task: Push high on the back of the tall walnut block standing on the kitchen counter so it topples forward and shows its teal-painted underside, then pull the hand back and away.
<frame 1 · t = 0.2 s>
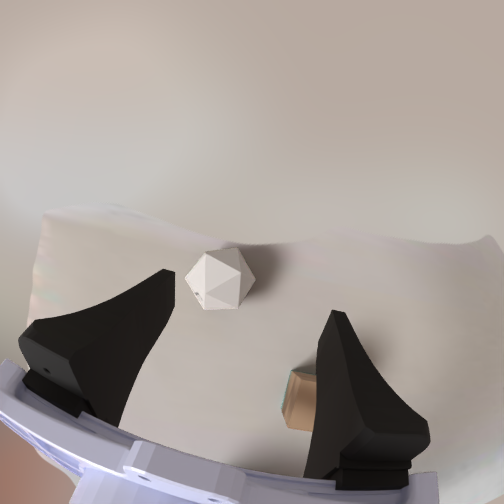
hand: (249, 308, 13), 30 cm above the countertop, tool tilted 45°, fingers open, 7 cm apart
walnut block: (302, 392, 40), on the countertop
die: (223, 284, 45), on the countertop
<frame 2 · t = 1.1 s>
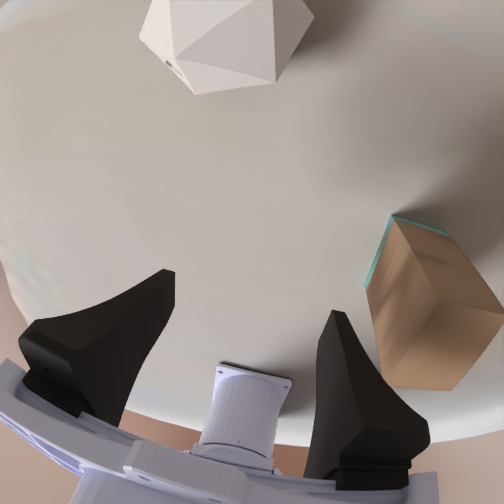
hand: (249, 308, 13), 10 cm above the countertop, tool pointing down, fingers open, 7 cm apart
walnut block: (405, 258, 21), on the countertop
die: (241, 35, 16), on the countertop
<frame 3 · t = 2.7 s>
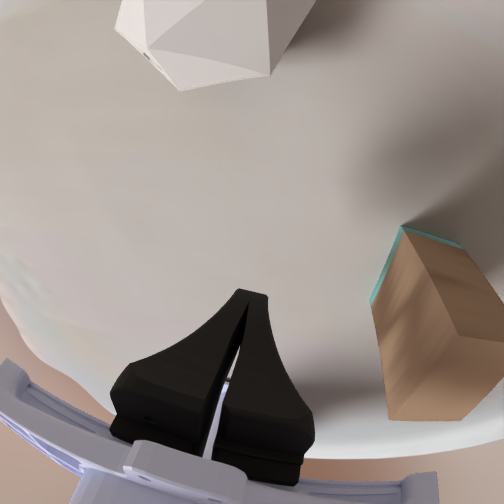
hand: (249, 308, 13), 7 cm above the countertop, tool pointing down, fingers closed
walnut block: (415, 272, 19), on the countertop
die: (232, 23, 14), on the countertop
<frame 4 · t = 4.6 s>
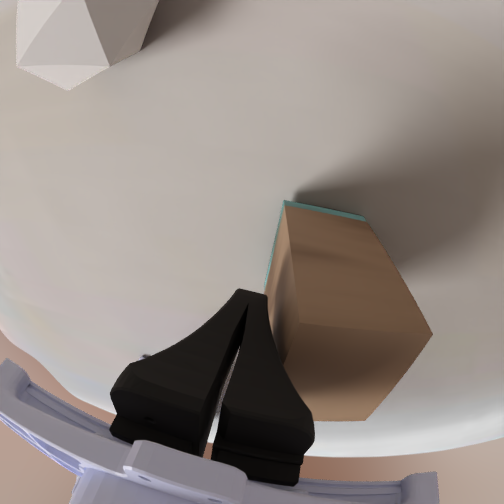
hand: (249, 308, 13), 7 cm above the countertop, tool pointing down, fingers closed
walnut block: (312, 251, 19), on the countertop, tilted 8°, touching gripper
die: (120, 25, 14), on the countertop
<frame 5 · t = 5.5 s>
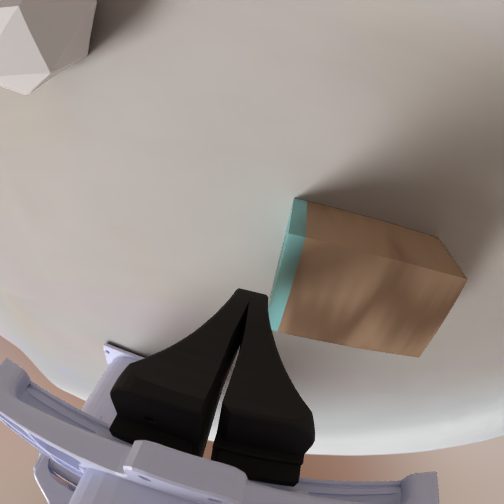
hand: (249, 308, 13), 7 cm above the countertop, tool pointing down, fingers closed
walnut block: (279, 261, 17), point 2 cm above the countertop, tilted 90°
die: (73, 33, 14), on the countertop
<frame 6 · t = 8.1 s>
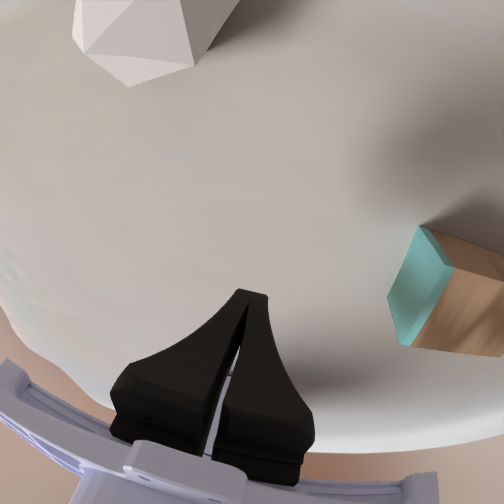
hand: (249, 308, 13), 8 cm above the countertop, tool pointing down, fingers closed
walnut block: (411, 283, 17), point 2 cm above the countertop, tilted 90°
die: (181, 22, 14), on the countertop
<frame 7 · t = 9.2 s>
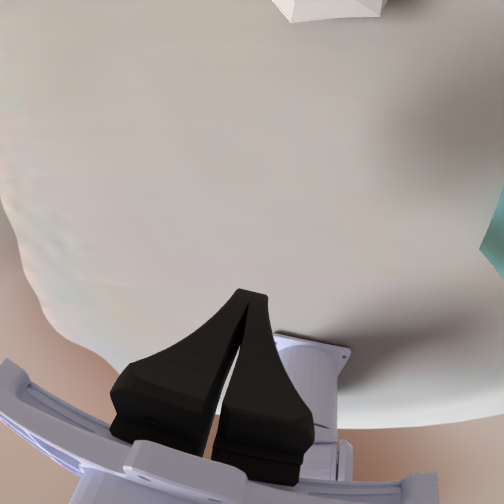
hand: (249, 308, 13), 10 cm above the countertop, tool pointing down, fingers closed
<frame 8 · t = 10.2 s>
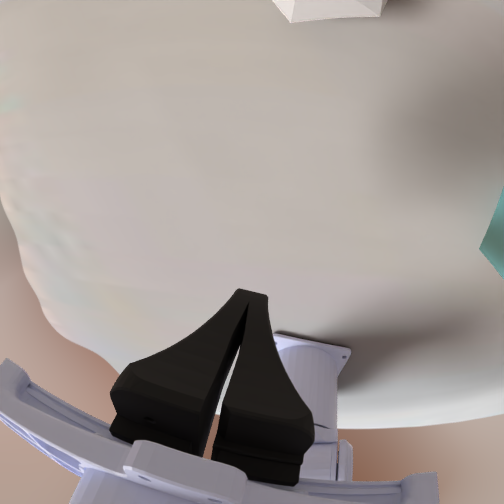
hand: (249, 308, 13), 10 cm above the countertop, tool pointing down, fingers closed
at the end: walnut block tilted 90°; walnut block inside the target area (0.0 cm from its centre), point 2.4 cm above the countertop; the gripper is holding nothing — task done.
